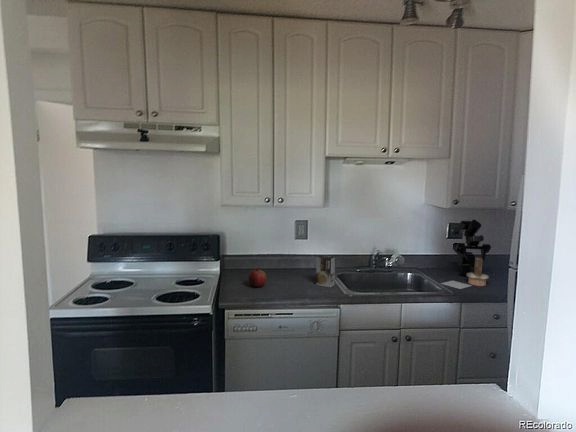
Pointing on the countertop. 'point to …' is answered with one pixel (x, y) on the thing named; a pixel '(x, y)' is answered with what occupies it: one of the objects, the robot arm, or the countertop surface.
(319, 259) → the coffee box
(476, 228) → the robot arm
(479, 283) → the bowl
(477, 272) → the lid
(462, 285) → the mat
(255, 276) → the fruit
